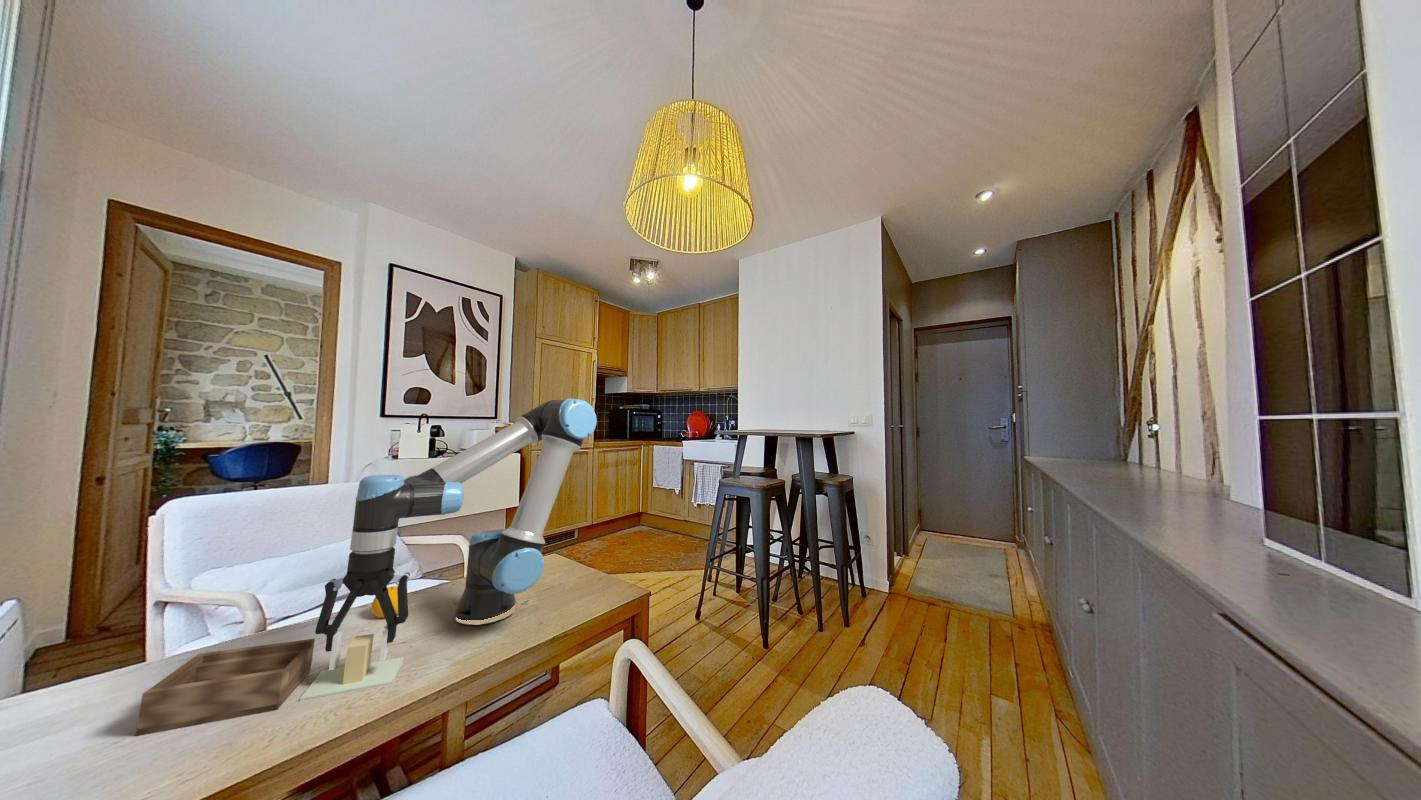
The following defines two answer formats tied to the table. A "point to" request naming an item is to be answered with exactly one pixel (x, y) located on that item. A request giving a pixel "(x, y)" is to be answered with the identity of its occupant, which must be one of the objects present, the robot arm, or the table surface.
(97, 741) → the table surface
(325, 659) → the table surface
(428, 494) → the robot arm
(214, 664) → the case
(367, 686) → the lid
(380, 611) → the orange
